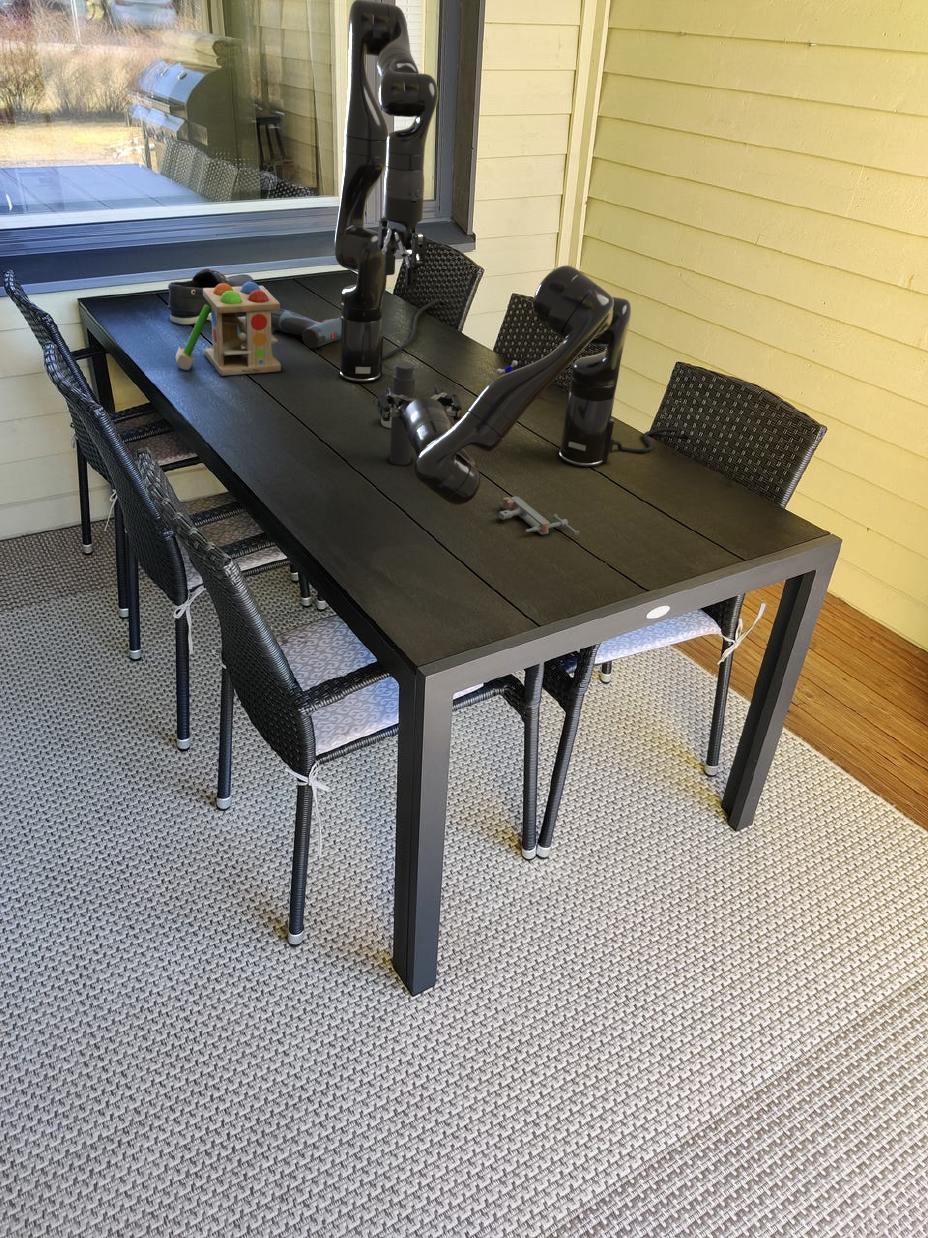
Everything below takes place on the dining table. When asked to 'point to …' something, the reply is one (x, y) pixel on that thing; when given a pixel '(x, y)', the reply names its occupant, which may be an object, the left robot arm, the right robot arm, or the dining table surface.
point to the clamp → (530, 516)
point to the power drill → (307, 327)
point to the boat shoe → (197, 294)
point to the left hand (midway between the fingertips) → (399, 280)
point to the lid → (386, 423)
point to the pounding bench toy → (229, 347)
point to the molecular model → (508, 368)
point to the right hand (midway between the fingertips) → (413, 390)
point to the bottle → (399, 439)
